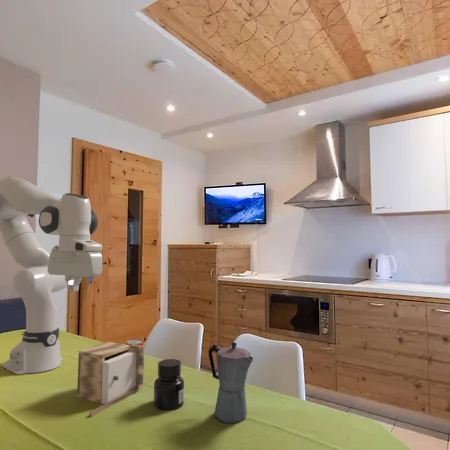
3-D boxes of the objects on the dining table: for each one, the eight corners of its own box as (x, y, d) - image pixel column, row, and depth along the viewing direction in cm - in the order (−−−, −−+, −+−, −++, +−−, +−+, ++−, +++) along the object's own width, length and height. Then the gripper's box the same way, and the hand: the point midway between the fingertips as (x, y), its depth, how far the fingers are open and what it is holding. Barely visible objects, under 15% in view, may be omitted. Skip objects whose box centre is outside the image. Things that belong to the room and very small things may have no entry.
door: (101, 403, 99) (102, 361, 100) (129, 388, 110) (130, 351, 111) (110, 406, 98) (111, 363, 98) (137, 390, 108) (138, 352, 109)
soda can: (138, 379, 118) (139, 344, 119) (120, 377, 119) (120, 343, 120) (146, 372, 125) (147, 339, 126) (129, 370, 126) (130, 338, 127)
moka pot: (245, 431, 85) (245, 350, 86) (196, 415, 93) (197, 341, 94) (261, 415, 93) (261, 341, 94) (215, 401, 101) (216, 334, 102)
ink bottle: (188, 407, 97) (189, 365, 98) (158, 414, 93) (159, 370, 94) (177, 394, 106) (178, 355, 107) (150, 400, 102) (150, 359, 103)
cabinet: (56, 406, 97) (58, 357, 98) (110, 381, 116) (112, 340, 117) (95, 418, 91) (96, 365, 92) (145, 389, 109) (146, 346, 110)
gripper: (43, 245, 105) (41, 289, 104) (89, 245, 96) (88, 294, 95) (60, 245, 111) (59, 287, 110) (106, 245, 102) (105, 291, 101)
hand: (73, 290), depth 102 cm, fingers closed
